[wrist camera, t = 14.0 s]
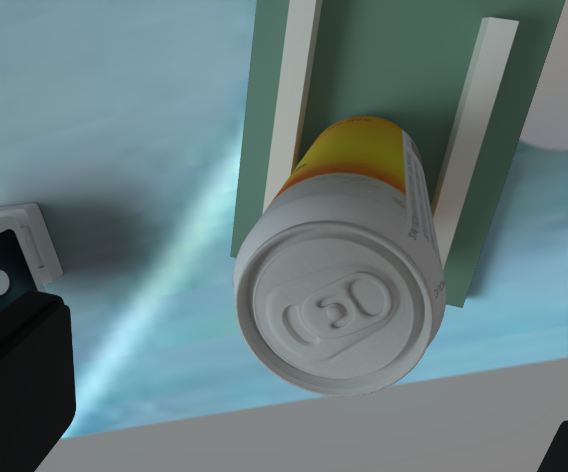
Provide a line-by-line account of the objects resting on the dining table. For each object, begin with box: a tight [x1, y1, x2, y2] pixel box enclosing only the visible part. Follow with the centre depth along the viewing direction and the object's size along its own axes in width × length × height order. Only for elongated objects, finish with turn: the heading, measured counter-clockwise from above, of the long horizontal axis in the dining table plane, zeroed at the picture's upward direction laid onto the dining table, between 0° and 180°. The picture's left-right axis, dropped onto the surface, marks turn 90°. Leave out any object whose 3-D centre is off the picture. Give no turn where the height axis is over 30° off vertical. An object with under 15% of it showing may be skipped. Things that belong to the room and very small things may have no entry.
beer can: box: [233, 116, 446, 397], centre depth 20 cm, size 6×6×15 cm
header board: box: [230, 0, 565, 308], centre depth 23 cm, size 22×14×7 cm, turn 172°
